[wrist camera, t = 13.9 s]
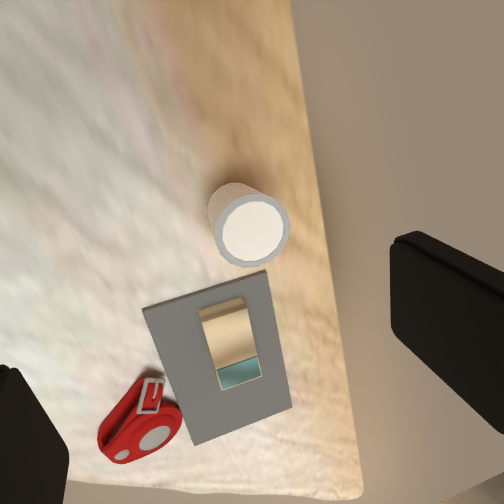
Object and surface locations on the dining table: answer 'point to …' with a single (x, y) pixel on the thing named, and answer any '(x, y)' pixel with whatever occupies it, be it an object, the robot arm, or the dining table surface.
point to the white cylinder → (247, 225)
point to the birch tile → (231, 342)
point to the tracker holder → (139, 423)
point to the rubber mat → (201, 364)
